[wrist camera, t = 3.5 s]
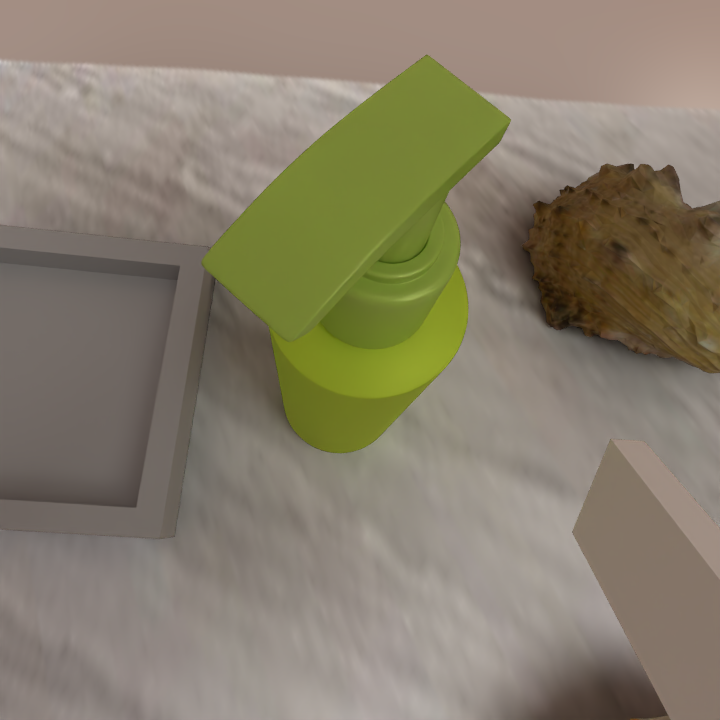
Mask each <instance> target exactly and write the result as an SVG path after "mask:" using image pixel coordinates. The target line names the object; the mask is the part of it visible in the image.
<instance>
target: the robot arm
mask: <svg viewBox="0 0 720 720" xmlns="http://www.w3.org/2000/svg"><path fill="white" fill-rule="evenodd" d="M572 533H573V535H574V537H575V539H576V540H577V542H578V544H579V546H580V548H581V550H582V552H583V554H584V556H585V558H586V560H587V561H588V563H589V565H590V567H591V569H592V571H593V573H594V575H595V577H596V579H597V580H598V582H599V584H600V586H601V588H602V590H603V592H604V594H605V596H606V598H607V600H608V601H609V603H610V605H611V607H612V609H613V611H614V613H615V615H616V617H617V619H618V620H619V622H620V624H621V626H622V628H623V630H624V632H625V634H626V636H627V638H628V639H629V641H630V643H631V645H632V647H633V649H634V651H635V653H636V655H637V657H638V659H639V660H640V662H641V664H642V666H643V668H644V670H645V672H646V674H647V676H648V678H649V679H650V681H651V683H652V685H653V687H654V689H655V691H656V693H657V695H658V697H659V699H660V700H661V702H662V704H663V706H664V708H665V710H666V712H667V714H668V716H669V718H670V719H671V720H720V528H719V527H718V526H717V525H716V524H715V522H714V521H713V520H712V519H711V518H710V517H709V515H708V514H707V513H706V512H705V511H704V510H703V508H702V507H701V506H700V505H699V504H698V503H697V502H696V500H695V499H694V498H693V497H692V496H691V495H690V493H689V492H688V491H687V490H686V489H685V488H684V486H683V485H682V484H681V483H680V482H679V481H678V480H677V478H676V477H675V476H674V475H673V474H672V473H671V471H670V470H669V469H668V468H667V467H666V466H665V464H664V463H663V462H662V461H661V460H660V459H659V458H658V456H657V455H656V454H655V453H654V452H653V451H652V449H651V448H650V447H649V446H648V445H647V444H646V442H645V441H634V440H620V439H610V442H609V444H608V447H607V449H606V451H605V454H604V456H603V459H602V461H601V463H600V466H599V468H598V471H597V473H596V476H595V478H594V480H593V483H592V485H591V488H590V490H589V492H588V495H587V497H586V500H585V502H584V504H583V507H582V509H581V512H580V514H579V517H578V519H577V521H576V524H575V526H574V529H573V531H572Z"/></svg>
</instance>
